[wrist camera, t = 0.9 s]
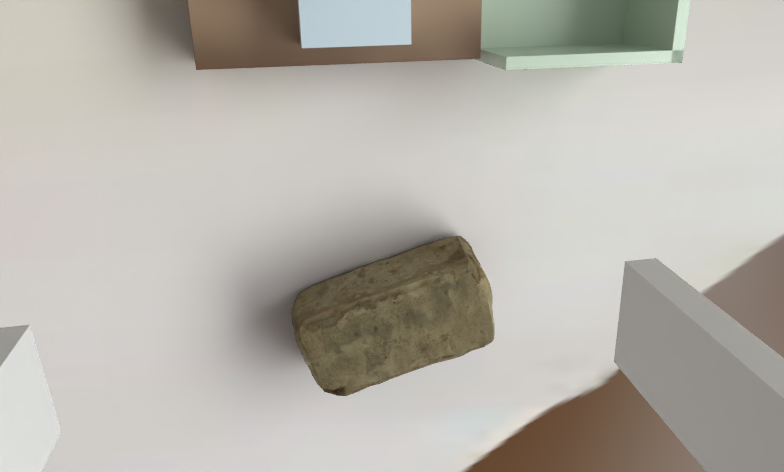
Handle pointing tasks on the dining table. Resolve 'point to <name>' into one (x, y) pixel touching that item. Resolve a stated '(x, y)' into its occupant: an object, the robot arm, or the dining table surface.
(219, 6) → the board
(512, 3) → the tray
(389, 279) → the stone block
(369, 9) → the pale blue square block
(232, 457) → the dining table surface
